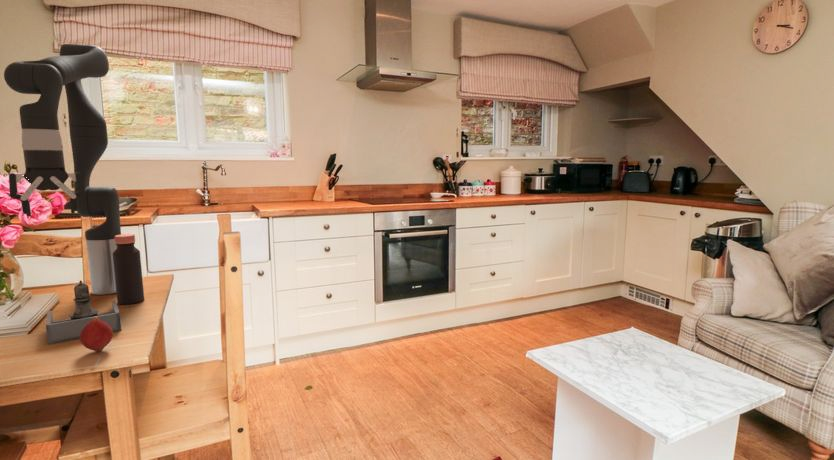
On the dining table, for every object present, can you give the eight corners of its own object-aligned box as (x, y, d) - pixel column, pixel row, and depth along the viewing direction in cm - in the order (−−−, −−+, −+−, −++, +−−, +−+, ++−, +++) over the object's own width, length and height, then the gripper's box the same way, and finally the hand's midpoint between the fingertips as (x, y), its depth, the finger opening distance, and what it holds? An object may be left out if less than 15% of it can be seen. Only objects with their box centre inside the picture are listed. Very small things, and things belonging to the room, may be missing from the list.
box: (49, 328, 111) (47, 311, 110) (117, 316, 120) (115, 300, 119) (48, 344, 102) (45, 325, 101) (121, 330, 110) (119, 312, 109)
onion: (78, 359, 94) (74, 323, 93) (86, 348, 100) (82, 314, 98) (111, 354, 97) (107, 319, 96) (116, 344, 102) (113, 310, 101)
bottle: (115, 306, 128) (108, 237, 125) (119, 299, 134) (113, 234, 131) (142, 303, 131) (136, 236, 128) (146, 296, 137) (140, 232, 134)
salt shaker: (88, 331, 108) (83, 283, 106) (64, 331, 108) (58, 283, 106) (105, 323, 114) (101, 277, 112) (82, 322, 114) (77, 277, 112)
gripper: (79, 149, 116) (86, 211, 119) (5, 148, 107) (14, 215, 110) (79, 149, 110) (87, 214, 113) (2, 148, 102) (11, 218, 104)
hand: (51, 214), depth 111 cm, fingers open, 8 cm apart
